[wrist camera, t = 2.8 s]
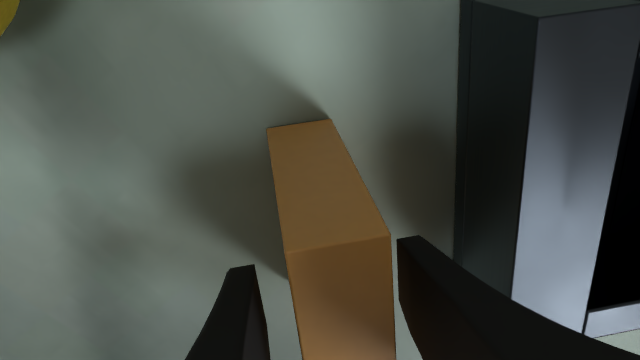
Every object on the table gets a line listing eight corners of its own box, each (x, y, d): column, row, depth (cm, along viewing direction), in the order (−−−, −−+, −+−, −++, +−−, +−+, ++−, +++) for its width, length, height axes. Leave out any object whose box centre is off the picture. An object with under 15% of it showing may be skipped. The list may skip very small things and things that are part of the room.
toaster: (647, 240, 19) (742, 309, 15) (452, 276, 18) (503, 358, 15) (718, -38, 14) (876, -30, 11) (460, -3, 14) (538, 17, 10)
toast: (346, 274, 17) (400, 440, 12) (292, 284, 17) (318, 456, 11) (331, 117, 15) (391, 234, 9) (266, 128, 14) (284, 252, 9)
